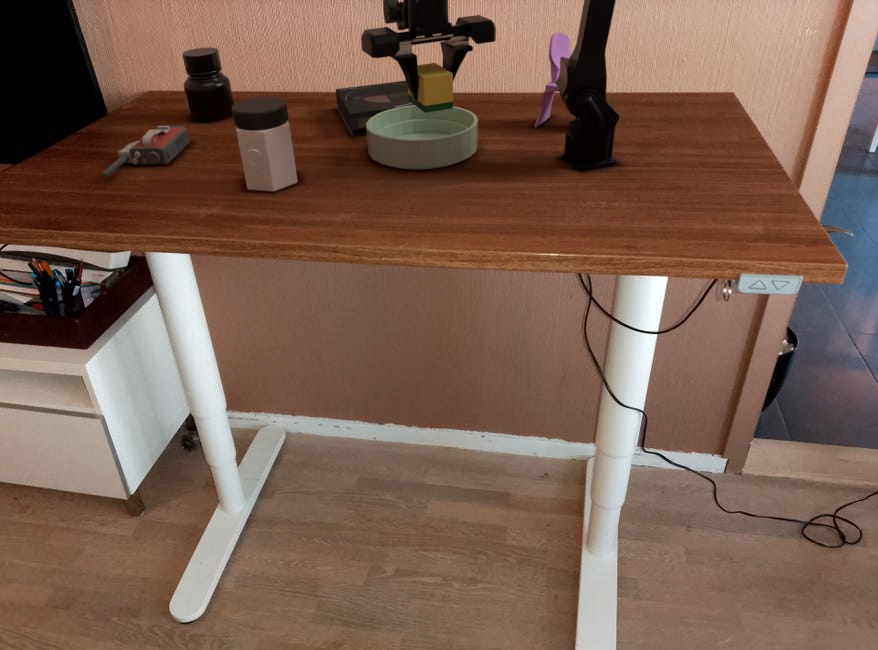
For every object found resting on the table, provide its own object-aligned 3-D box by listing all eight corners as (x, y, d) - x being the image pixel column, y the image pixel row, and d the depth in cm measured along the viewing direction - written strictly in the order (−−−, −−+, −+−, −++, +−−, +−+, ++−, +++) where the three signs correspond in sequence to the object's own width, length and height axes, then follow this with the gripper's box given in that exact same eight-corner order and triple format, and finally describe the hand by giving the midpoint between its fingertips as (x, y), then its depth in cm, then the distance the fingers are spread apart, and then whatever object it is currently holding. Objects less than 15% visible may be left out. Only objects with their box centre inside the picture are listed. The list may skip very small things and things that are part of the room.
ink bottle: (216, 105, 149) (204, 44, 142) (246, 111, 145) (235, 48, 138) (179, 119, 143) (164, 55, 136) (209, 125, 138) (196, 60, 131)
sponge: (435, 96, 112) (435, 62, 109) (453, 108, 106) (452, 73, 103) (408, 100, 111) (407, 66, 108) (424, 113, 105) (423, 77, 102)
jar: (234, 189, 112) (218, 111, 105) (257, 170, 118) (244, 95, 111) (286, 193, 109) (274, 114, 102) (307, 173, 115) (297, 97, 108)
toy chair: (580, 135, 123) (588, 41, 114) (531, 128, 127) (536, 37, 118) (596, 120, 128) (606, 30, 120) (550, 115, 132) (555, 27, 124)
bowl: (453, 127, 130) (453, 98, 127) (494, 160, 116) (495, 129, 113) (356, 142, 126) (353, 114, 123) (387, 179, 112) (384, 147, 109)
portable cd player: (353, 137, 128) (351, 114, 126) (337, 109, 142) (335, 89, 140) (442, 125, 131) (441, 103, 129) (418, 99, 145) (417, 79, 142)
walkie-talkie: (149, 140, 133) (100, 183, 117) (143, 116, 130) (91, 156, 114) (194, 140, 132) (151, 183, 116) (189, 115, 129) (143, 156, 113)
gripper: (466, -33, 107) (466, 76, 116) (346, -19, 103) (355, 92, 112) (498, -23, 98) (496, 93, 108) (368, -8, 94) (377, 112, 103)
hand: (430, 97), depth 108 cm, fingers closed on sponge, 4 cm apart
